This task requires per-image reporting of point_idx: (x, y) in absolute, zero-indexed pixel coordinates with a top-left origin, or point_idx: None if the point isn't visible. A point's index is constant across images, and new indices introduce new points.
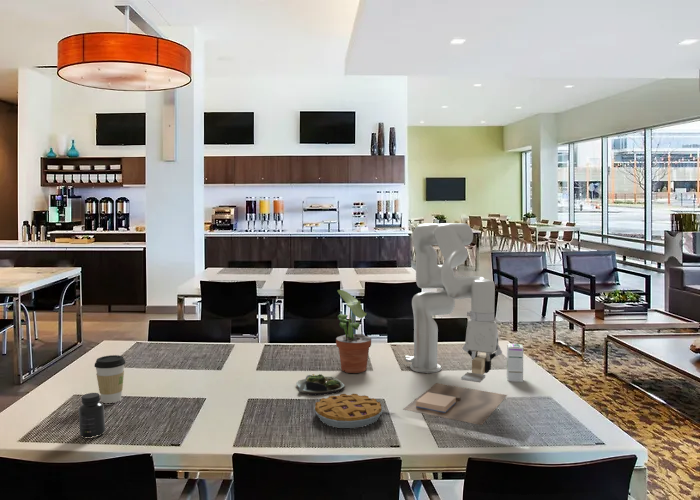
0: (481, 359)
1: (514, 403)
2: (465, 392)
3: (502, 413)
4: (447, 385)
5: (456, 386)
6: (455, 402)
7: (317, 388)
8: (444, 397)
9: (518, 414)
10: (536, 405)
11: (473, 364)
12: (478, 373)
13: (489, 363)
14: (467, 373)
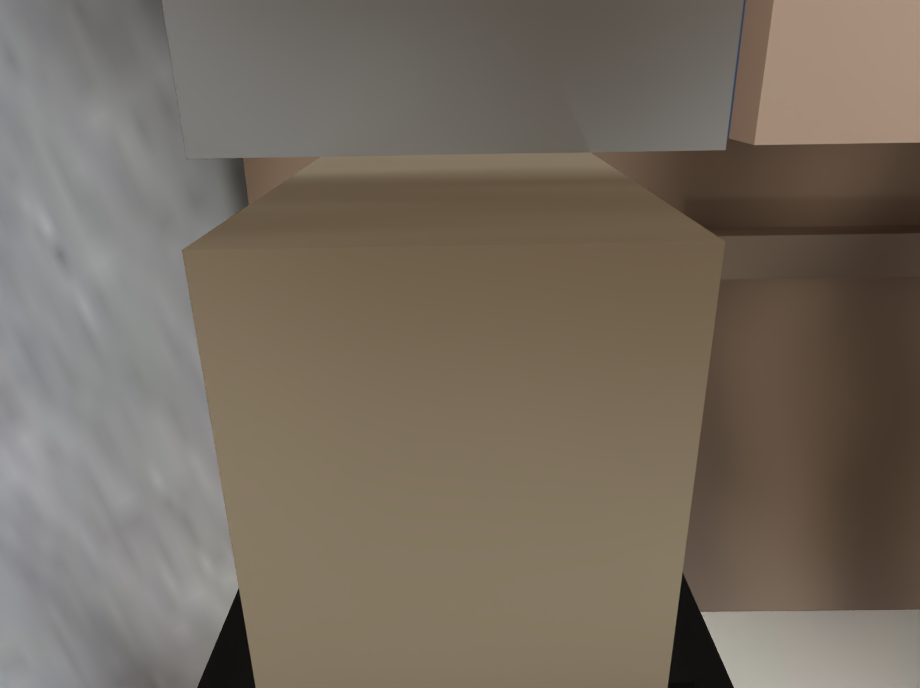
0: (321, 586)
1: (214, 525)
2: (692, 501)
3: (200, 222)
4: (912, 594)
5: (816, 608)
6: (728, 132)
7: None
8: (904, 44)
9: (58, 278)
10: (36, 567)
11: (587, 194)
12: (389, 154)
13: (202, 684)
14: (695, 21)
